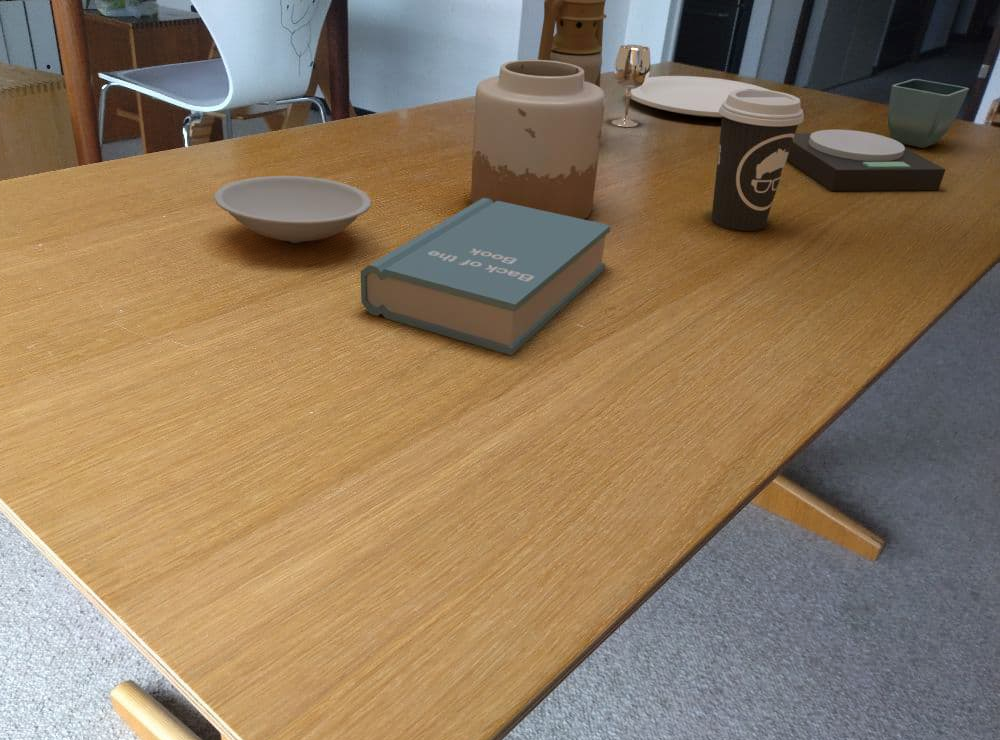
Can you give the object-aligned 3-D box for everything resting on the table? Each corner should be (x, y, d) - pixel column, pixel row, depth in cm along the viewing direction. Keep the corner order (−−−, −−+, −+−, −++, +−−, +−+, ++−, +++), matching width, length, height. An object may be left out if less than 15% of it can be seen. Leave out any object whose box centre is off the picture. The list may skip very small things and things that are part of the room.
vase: (450, 214, 107) (454, 71, 98) (499, 180, 119) (507, 49, 110) (567, 238, 102) (583, 89, 93) (607, 200, 114) (624, 64, 105)
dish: (190, 249, 95) (184, 204, 93) (261, 208, 107) (258, 167, 104) (335, 278, 90) (333, 232, 88) (393, 232, 102) (393, 190, 99)
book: (511, 355, 78) (515, 304, 75) (361, 311, 84) (360, 262, 81) (604, 269, 95) (610, 225, 92) (474, 238, 101) (476, 195, 98)
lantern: (552, 126, 144) (571, -83, 128) (612, 136, 140) (639, -78, 124) (512, 147, 133) (527, -79, 117) (576, 159, 128) (601, -73, 112)
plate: (808, 109, 160) (811, 96, 159) (733, 136, 143) (736, 121, 141) (676, 81, 176) (678, 69, 175) (593, 102, 159) (595, 89, 157)
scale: (938, 190, 122) (948, 161, 120) (831, 191, 120) (839, 162, 118) (871, 152, 137) (879, 126, 135) (775, 152, 135) (781, 126, 133)
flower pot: (874, 141, 143) (891, 84, 138) (898, 133, 148) (914, 77, 143) (928, 154, 137) (947, 95, 133) (951, 145, 143) (970, 88, 138)
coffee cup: (775, 213, 112) (803, 91, 104) (781, 239, 104) (812, 110, 96) (698, 204, 113) (721, 84, 105) (698, 230, 106) (723, 102, 98)
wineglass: (614, 128, 144) (624, 51, 138) (602, 119, 149) (611, 44, 142) (647, 127, 145) (658, 50, 139) (634, 118, 150) (644, 44, 144)
